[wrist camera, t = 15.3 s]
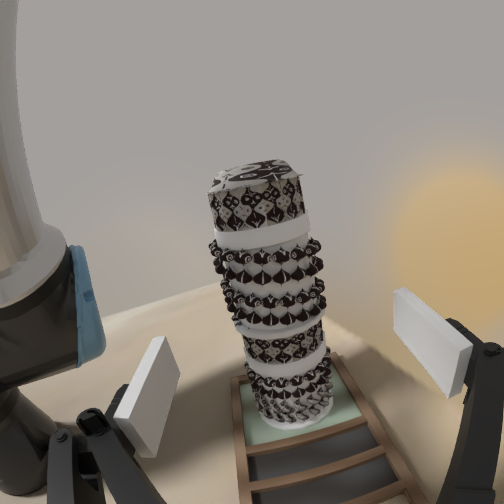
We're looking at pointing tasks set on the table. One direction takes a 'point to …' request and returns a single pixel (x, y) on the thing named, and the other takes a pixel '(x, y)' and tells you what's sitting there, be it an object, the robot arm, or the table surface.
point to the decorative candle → (273, 290)
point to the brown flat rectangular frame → (318, 452)
